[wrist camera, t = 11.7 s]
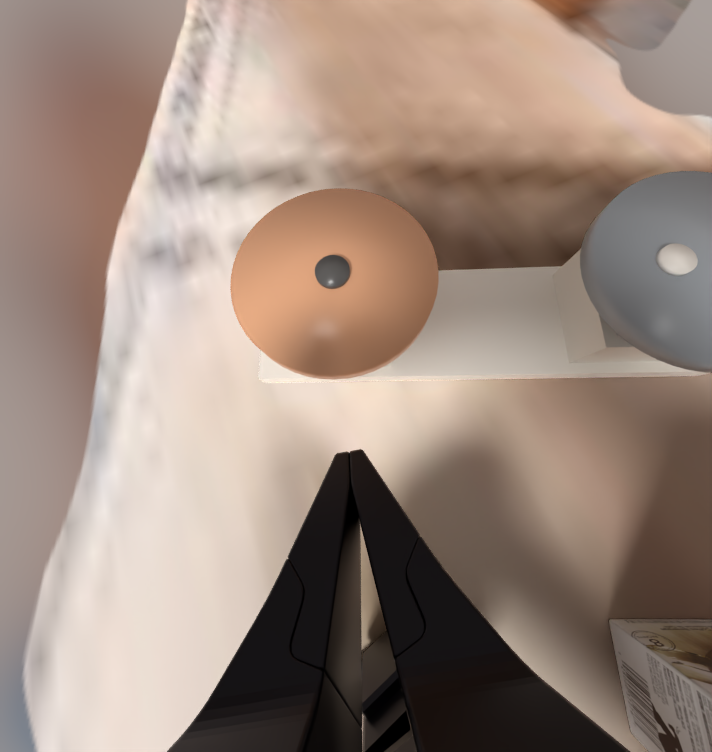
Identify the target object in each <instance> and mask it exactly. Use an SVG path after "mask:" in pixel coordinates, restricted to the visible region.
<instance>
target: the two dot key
mask: <svg viewBox="0 0 712 752" xmlns="http://www.w3.org/2000/svg"><path fill="white" fill-rule="evenodd" d="M580 269H581V276H582V280H583V283H584V286H585V289H586V292H587V294H588V296H589V298H590V300H591V302H592V304H593V305H594V307H595V309H596V310H597V312H598V313H599V314H600V316H601V317H602V318H603V319H604V321H605V322H606V323H607V324H608V325H609V326H610V327H611V328H612V329H613V330H614V331H615V332H616V334H617V335H619V336H620V337H622V338H623V339H624V340H625V341H627V342H628V343H629V344H631V345H632V346H634V347H635V348H637V349H638V350H640V351H642V352H643V353H645V354H647V355H649V356H651V357H653V358H655V359H657V360H659V361H662V362H665V363H667V364H670V365H672V366H676V367H680V368H683V369H687V370H692V371H698V372H705V373H712V173H709V172H698V171H679V172H669V173H664V174H659V175H655V176H652V177H649V178H646V179H643V180H641V181H639V182H637V183H635V184H632V185H631V186H629V187H628V188H626V189H625V190H623V191H622V192H621V193H620V194H619V195H617V196H616V197H615V198H614V199H613V200H612V201H611V202H610V203H609V204H608V205H607V206H606V207H605V208H604V209H603V210H602V211H601V212H600V213H599V214H598V215H597V217H596V218H595V219H594V220H593V222H592V223H591V224H590V226H589V228H588V230H587V232H586V234H585V236H584V239H583V242H582V246H581V252H580Z"/></svg>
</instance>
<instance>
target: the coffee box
mask: <svg viewBox="0 0 712 752" xmlns="http://www.w3.org/2000/svg"><path fill="white" fill-rule="evenodd" d="M609 625H610V630H611V635H612V640H613V645H614V650H615V655H616V660H617V666H618V671H619V676H620V681H621V686H622V691H623V696H624V700H625V706H626V712H627V716H628V721H629V726H630V731H631V733H632V734H633V736H634V737H635V738H636V739H637V740H638V741H639V742H640V743H641V744H642V745H643V746H644V747H645V748H646V749H647V751H648V752H712V620H706V619H610V620H609Z"/></svg>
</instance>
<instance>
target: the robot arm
mask: <svg viewBox="0 0 712 752" xmlns="http://www.w3.org/2000/svg"><path fill="white" fill-rule="evenodd" d="M360 524H361V528H362V532H363V536H364V540H365V544H366V548H367V552H368V556H369V560H370V564H371V568H372V572H373V576H374V580H375V585H376V589H377V593H378V597H379V601H380V605H381V609H382V613H383V617H384V621H385V625H386V629H387V631H386V632H385V633H384V634H383V635H381V636H380V637H379V638H378V639H377V640H376V641H375V642H374V643H373V644H372V645H371V646H370V647H369V648H368V649H367V650H366V651H365V652H364V653H363V659H362V660H361V541H360ZM362 714H363V716H364V721H363V752H630V751H629V750H628V749H626V748H625V747H624V746H623V745H622V744H620V743H619V742H618V741H617V740H615V739H614V738H613V737H612V736H611V735H609V734H608V733H607V732H606V731H604V730H603V729H602V728H601V727H600V726H598V725H597V724H596V723H595V722H594V721H592V720H591V719H590V718H589V717H587V716H586V715H585V714H584V713H583V712H581V711H580V710H579V709H578V708H576V707H575V706H574V705H573V704H572V703H570V702H569V701H568V700H567V699H566V698H564V697H563V696H562V695H561V694H559V693H558V692H557V691H556V690H555V689H553V688H552V687H551V686H550V685H548V684H547V683H546V682H545V681H544V680H542V679H541V678H540V677H539V676H538V675H537V674H536V673H535V672H534V671H532V670H531V669H530V668H529V667H528V666H527V665H526V664H525V663H524V662H523V661H522V660H521V659H520V657H519V656H518V655H517V654H516V653H515V652H514V651H513V650H512V649H511V648H510V647H509V646H508V644H507V643H506V642H505V641H504V640H503V639H502V638H501V636H500V635H499V634H498V633H497V632H496V630H495V629H494V628H493V627H492V626H491V625H490V623H489V622H488V621H487V620H486V619H485V618H484V616H483V615H482V614H481V613H480V612H479V611H478V609H477V608H476V607H475V606H474V605H473V604H472V602H471V601H470V600H469V599H468V598H467V596H466V595H465V594H464V593H463V592H462V591H461V589H460V588H459V587H458V586H457V585H456V583H455V582H454V581H453V580H452V578H451V577H450V576H449V575H448V573H447V572H446V571H445V570H444V568H443V567H442V566H441V564H440V563H439V561H438V560H437V559H436V557H435V556H434V555H433V553H432V552H431V550H430V549H429V547H428V546H427V544H426V543H425V541H424V540H423V539H422V537H420V534H419V533H418V531H417V530H416V528H415V527H414V525H413V524H412V522H411V521H410V519H409V518H408V516H407V515H406V513H405V512H404V511H403V509H402V508H401V506H400V505H399V503H398V502H397V500H396V499H395V497H394V496H393V494H392V493H391V491H390V490H389V488H388V487H387V485H386V484H385V482H384V481H383V479H382V478H381V476H380V475H379V473H378V472H377V470H376V469H375V467H374V466H373V464H372V463H371V461H370V460H369V458H368V457H367V455H366V454H365V453H364V451H363V450H361V449H360V450H354V451H350V453H349V452H342V453H337V454H336V455H335V457H334V459H333V461H332V463H331V465H330V467H329V469H328V472H327V474H326V476H325V478H324V480H323V482H322V484H321V487H320V489H319V491H318V493H317V495H316V497H315V499H314V502H313V504H312V506H311V508H310V510H309V512H308V514H307V516H306V519H305V521H304V523H303V525H302V527H301V529H300V531H299V534H298V536H297V538H296V540H295V542H294V544H293V546H292V549H291V551H290V553H289V555H288V559H287V560H286V561H285V563H284V565H283V567H282V570H281V572H280V574H279V576H278V578H277V580H276V582H275V584H274V586H273V588H272V590H271V592H270V594H269V596H268V598H267V600H266V601H265V603H264V605H263V607H262V609H261V610H260V612H259V614H258V616H257V618H256V619H255V621H254V623H253V625H252V626H251V628H250V630H249V631H248V633H247V635H246V637H245V638H244V640H243V642H242V643H241V645H240V647H239V648H238V650H237V652H236V654H235V655H234V657H233V659H232V660H231V662H230V664H229V666H228V667H227V669H226V671H225V672H224V674H223V676H222V678H221V679H220V681H219V683H218V684H217V686H216V688H215V689H214V691H213V693H212V694H211V696H210V698H209V699H208V701H207V702H206V704H205V705H204V707H203V708H202V710H201V711H200V713H199V714H198V715H197V717H196V718H195V719H194V721H193V722H192V723H191V725H190V726H189V727H188V728H187V730H186V731H185V732H184V733H183V734H182V736H181V737H180V738H179V739H178V740H177V741H176V742H175V743H174V744H173V745H172V747H171V748H170V749H169V750H168V751H167V752H362V729H361V728H362Z"/></svg>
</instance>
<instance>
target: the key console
mask: <svg viewBox="0 0 712 752" xmlns="http://www.w3.org/2000/svg"><path fill="white" fill-rule="evenodd" d="M580 252H581V249H580V250H579V251H578V252H577V253H576V254H575V255H573V256H572V257H571V258H570V259H569V260H568V261H567V262H566V263H565V264H564V265H563V266H555V267H526V268H496V269H467V270H438V277H439V282H438V289H437V296H436V299H435V302H434V306H433V308H432V311H431V313H430V315H429V317H428V320H427V322H426V324H425V326H424V328H423V330H422V331H421V333H420V334H419V336H418V337H417V339H416V340H415V341H414V342H413V344H412V345H411V346H410V347H409V348H408V349H407V350H406V351H405V352H404V353H403V354H401V355H400V356H399V357H398V358H396V359H395V360H394V361H392V362H391V363H389V364H388V365H386V366H384V367H382V368H380V369H378V370H376V371H373V372H371V373H368V374H365V375H362V376H357V377H353V378H348V379H335V380H332V379H318V378H312V377H307V376H304V375H301V374H298V373H294V372H292V371H290V370H288V369H286V368H284V367H282V366H281V365H279V364H277V363H276V362H274V361H273V360H272V359H270V358H269V357H268V356H267V355H266V354H265V353H264V352H262V351H261V350H260V361H259V373H258V379H259V380H261V381H263V382H264V383H295V382H357V381H420V380H483V379H545V378H608V377H671V376H700V375H705V374H709V373H705V372H698V371H692V370H687V369H683V368H680V367H676V366H672V365H670V364H667V363H665V362H662V361H659V360H657V359H655V358H653V357H651V356H649V355H647V354H645V353H643V352H642V351H640V350H638V349H637V348H635V347H634V346H632V345H631V344H629V343H628V342H627V341H625V340H624V339H623V338H622V337H620V336H619V335H617V334H616V332H615V331H614V330H613V329H612V328H611V327H610V326H609V325H608V324H607V323H606V322H605V321H604V319H603V318H602V317H601V316H600V314H599V313H598V312H597V310H596V309H595V307H594V305H593V304H592V302H591V300H590V298H589V296H588V294H587V292H586V289H585V286H584V283H583V280H582V276H581V269H580Z"/></svg>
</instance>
